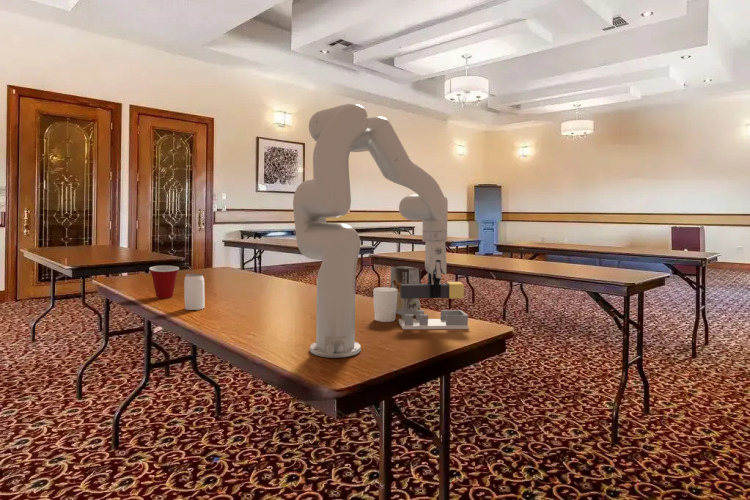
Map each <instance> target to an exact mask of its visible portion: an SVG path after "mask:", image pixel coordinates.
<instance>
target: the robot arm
mask: <svg viewBox="0 0 750 500" xmlns="http://www.w3.org/2000/svg"><path fill="white" fill-rule="evenodd" d="M308 132H309V134H310V136H311V138H312V139H313V140H314V142H316V143H315V145H314V149H313V151H312V152H313V153H312V170H313V171H312V172H313V173H312V176H313V179H312V178H311V179H307V180H305V181H303V182H301V183H299V185H298V186H297V187H296V188H295V192H294V195H293V199H292V207H293V218H294V219H293V220H294V227H295V228H294V229H295V238H296V244H297V248H298V250H299V252H300V254H302V255H303V256H304V257H306V258H308V259H310V260H315V261H322V262H321V265H320V268H318V269H319V270H318V273H317V277H316V325H315V326H316V333H315V334H316V339H315V342H313V343H311V344H310V346H309V351H310V353H311V354H313V355H315V356H318V357H322V358H331V359H340V358H347V357H352V356H356V355H358V354H359V353H360V352H361V349H362V348H361V347H362V346H361V344H360V343H359V342H357V341H355V340H356V339H355V338H356V336H355V335H356V277H357V275H356V274H357V267H358V266H357V264H358V260H359V254H360V250H361V238H360V235H359V233H358V231H356V229H354V228H353V227H352V226H351V225H348V224H346V223H340V222H339V223H338V222H327V218H330V219H332V218H333V219H335V218H336V219H337V218H342V217H344V216H346V215H347V214H348V213H349V211H350V209H351V205H352V196H351V195H352V193H351V181H350V180H351V179H350V165H349V160H350V159H349V158H350V154H351V153H361V152H369V154H370V156H371V157H372V158H373V160H374V162H375V163H376V165H377V167H378V169H379V171H380V173H381V174H382V176H383V177H384V178H385V179H386V180H387V181H388V180H389V181H390V182H392V183H394V184H397V185H399V186H402V187H405V188H406V189H409V190H411V191H413V192H414V193H416V194H410V195H406V196H405V197H403V198H402V199H401V200H400V202H399V205H398V211H399V214H400V215H401V216H402V218H404V219H406V220H409V221H417V222H418V221H422V229H421V230H422V232H421V233H422V236H421V237H422V238H421V239H422V242H425V244H424V245H425V247H424V248H425V249H424V270H425V271H426V272H427V284H430V297H431V298H430V299H435V298H434V297H441V284H442V275H446V274H447V249H446V243H447V242H448V212H449V211H448V210H449V209H448V207H449V205H448V202H449V201H448V198H447V197H446V196H444V195H445V194H444V193H443V191H442V189H441V187H440V185H439V184H438V182H437V181H436V179H435V178H434V177H432V176H431V174H430V173H428V172H427V171H426V170H424V169H423V168H421V167H420V166H419V165H418V164H416V163H415V162H414V161H412V160H411V159H410V157H409V155H408V154H407V151H406V149H405V148H404V146H403V144H402V142H401V139H399V136H398V135H397V132H396V131H395V129H394V127H393V125H392V124H391V121H389V120H388V119H387V118H386V117H383V116H372V117H369V116H368V112H367V110H366V108H365V107H364V106H362V105H360V104H357V103H347V104H346V103H345V104H341V105H337V106H334V107H330V108H326V109H322V110H319V111H317V112H315V113H314V114H313V115H312V116H311V117H310V119H309V122H308Z"/></svg>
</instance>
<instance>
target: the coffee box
mask: <svg viewBox="0 0 750 500" xmlns="http://www.w3.org/2000/svg"><path fill="white" fill-rule="evenodd" d="M400 284H422V268H421V267H413V266H405V265H399V266H391V267H390V288H396V289H398V294H397V307H396V315H399V316H402V310H410V315H413V317H414V316H415V317H416V310H421V298H407V299H402V298H401V297H400Z"/></svg>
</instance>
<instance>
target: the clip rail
mask: <svg viewBox="0 0 750 500" xmlns="http://www.w3.org/2000/svg"><path fill="white" fill-rule="evenodd" d="M468 322H469V315H468V314H467V313H466V312H464V311H463V310H462V309H440V318H429V315H428V314H425V310H424V309H420V310H416V315H415V318H414V316H413V315H410V310H402V315H401V318H398V324H399V325H400V327H401V329H402V330H469V328H470V327H469V326H470V325H468V324H469V323H468Z"/></svg>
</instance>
